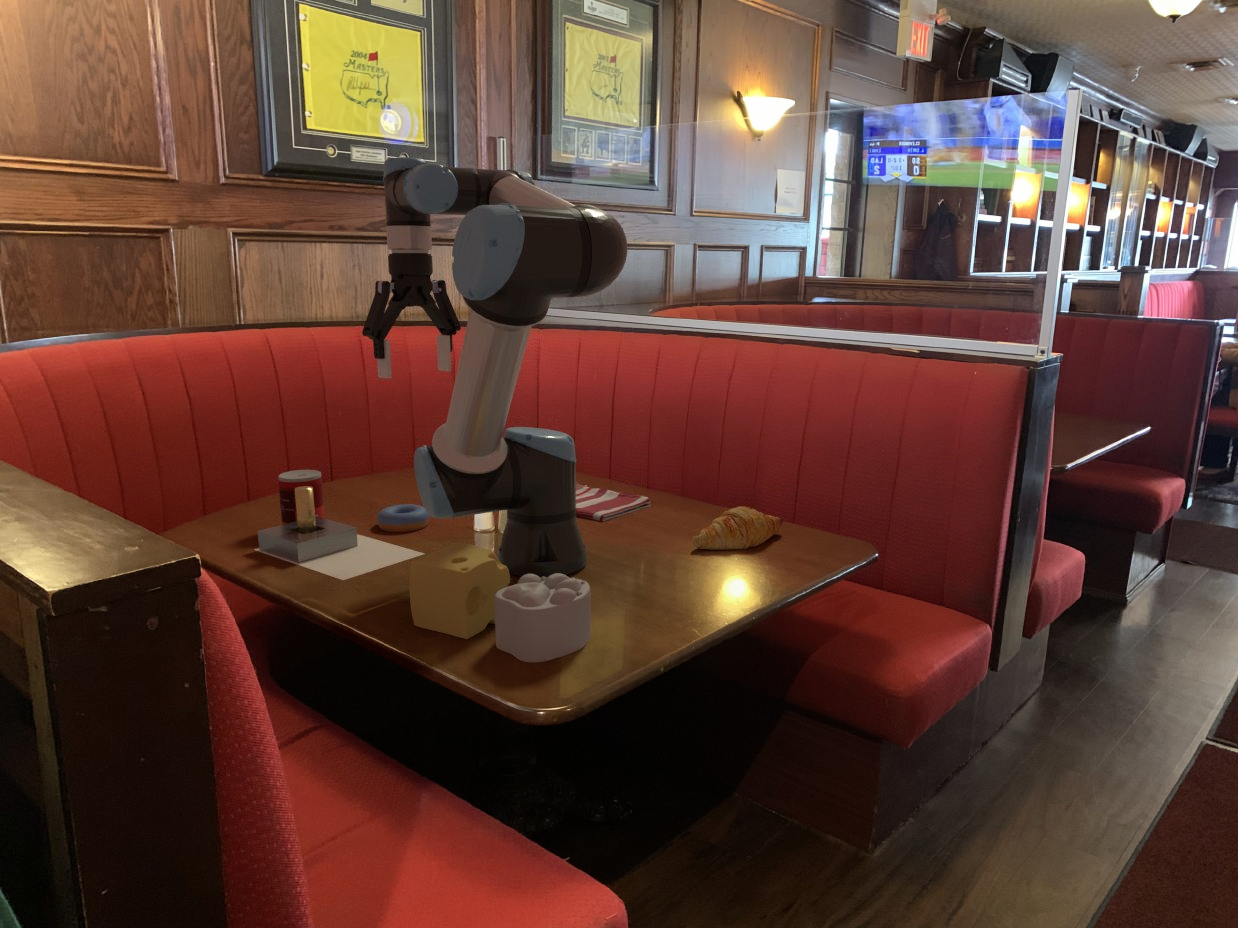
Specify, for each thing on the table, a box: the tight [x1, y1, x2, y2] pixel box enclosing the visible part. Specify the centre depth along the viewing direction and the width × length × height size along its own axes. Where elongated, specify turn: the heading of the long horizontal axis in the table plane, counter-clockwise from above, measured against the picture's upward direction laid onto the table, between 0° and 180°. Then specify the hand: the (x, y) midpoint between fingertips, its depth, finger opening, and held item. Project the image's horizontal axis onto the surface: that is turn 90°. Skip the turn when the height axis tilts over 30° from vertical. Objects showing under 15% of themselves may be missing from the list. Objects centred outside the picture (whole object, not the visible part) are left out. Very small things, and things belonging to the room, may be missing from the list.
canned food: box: [277, 469, 325, 525], centre depth 171 cm, size 8×8×11 cm
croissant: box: [691, 505, 784, 551], centre depth 164 cm, size 21×10×8 cm, turn 125°
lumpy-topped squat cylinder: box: [494, 573, 592, 663], centre depth 121 cm, size 10×13×9 cm
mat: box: [253, 533, 425, 581], centre depth 158 cm, size 26×17×1 cm, turn 53°
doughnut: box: [376, 503, 430, 533], centre depth 174 cm, size 10×10×5 cm
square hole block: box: [257, 516, 358, 563], centre depth 159 cm, size 12×12×4 cm
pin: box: [295, 486, 316, 534], centre depth 158 cm, size 3×3×11 cm
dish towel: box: [576, 481, 651, 522], centre depth 191 cm, size 17×23×3 cm
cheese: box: [408, 541, 511, 640], centre depth 127 cm, size 10×11×10 cm
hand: (415, 374), depth 160 cm, fingers open, 13 cm apart
